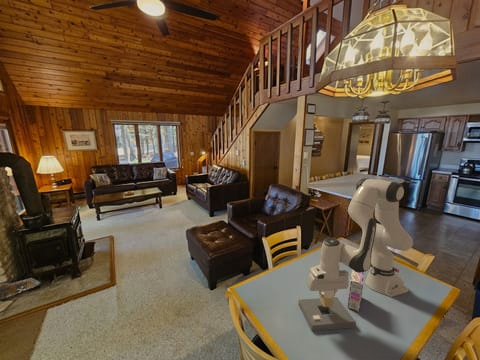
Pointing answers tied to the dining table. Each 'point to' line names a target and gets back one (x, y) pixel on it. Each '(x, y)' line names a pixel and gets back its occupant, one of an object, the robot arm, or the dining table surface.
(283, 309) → the dining table surface
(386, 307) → the dining table surface
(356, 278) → the candy box
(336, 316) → the socket
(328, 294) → the cream and tan block
